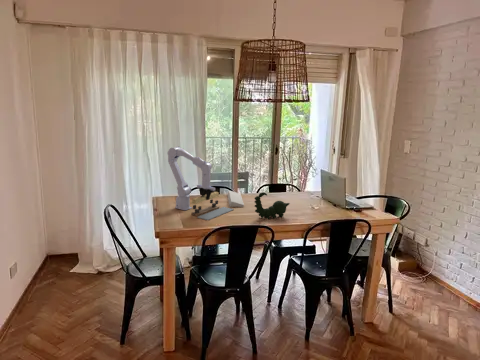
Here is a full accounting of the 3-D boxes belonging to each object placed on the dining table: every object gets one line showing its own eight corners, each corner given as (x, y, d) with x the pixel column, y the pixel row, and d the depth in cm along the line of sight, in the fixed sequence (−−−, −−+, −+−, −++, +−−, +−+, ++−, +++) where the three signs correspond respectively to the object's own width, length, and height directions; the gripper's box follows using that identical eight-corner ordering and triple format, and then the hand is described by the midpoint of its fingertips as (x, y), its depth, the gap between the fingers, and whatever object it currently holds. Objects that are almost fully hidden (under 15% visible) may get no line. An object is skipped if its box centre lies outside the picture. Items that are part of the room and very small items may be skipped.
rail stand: (191, 214, 239) (191, 205, 238) (212, 206, 259) (212, 198, 258) (198, 216, 236) (198, 207, 235) (219, 208, 256) (219, 200, 255)
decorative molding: (238, 199, 295) (227, 195, 294) (240, 193, 294) (228, 190, 293) (242, 211, 262) (229, 207, 261) (244, 204, 261) (231, 201, 260)
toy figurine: (258, 223, 232) (293, 217, 239) (257, 195, 227) (292, 190, 235) (253, 218, 240) (286, 213, 248) (252, 191, 236) (286, 186, 244)
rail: (192, 203, 236) (192, 198, 235) (215, 195, 258) (215, 191, 257) (195, 204, 234) (195, 199, 234) (218, 196, 256) (218, 192, 255)
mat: (197, 217, 233) (197, 216, 233) (223, 207, 258) (223, 206, 258) (207, 220, 228) (207, 219, 228) (233, 209, 253) (233, 209, 253)
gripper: (218, 180, 243) (217, 199, 245) (201, 177, 250) (201, 196, 253) (211, 182, 237) (211, 202, 240) (195, 179, 244) (194, 198, 247)
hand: (205, 199), depth 246 cm, fingers closed on rail, 3 cm apart
